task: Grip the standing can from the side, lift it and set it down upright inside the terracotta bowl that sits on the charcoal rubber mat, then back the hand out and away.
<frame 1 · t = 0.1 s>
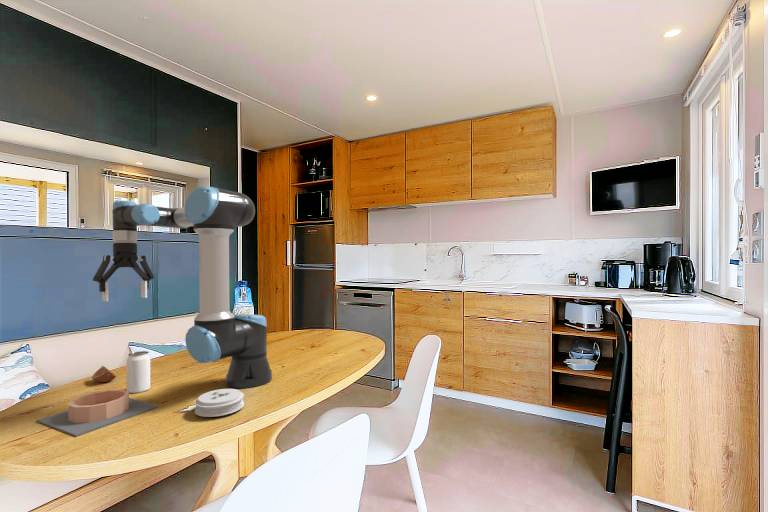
hand: (125, 299, 140), 28 cm above the table, tool pointing down, fingers open, 13 cm apart
can: (138, 390, 121), on the table
lid: (220, 411, 104), on the table
mat: (100, 413, 103), on the table
fruit slice: (104, 382, 130), on the table
bowl: (100, 405, 103), on the mat
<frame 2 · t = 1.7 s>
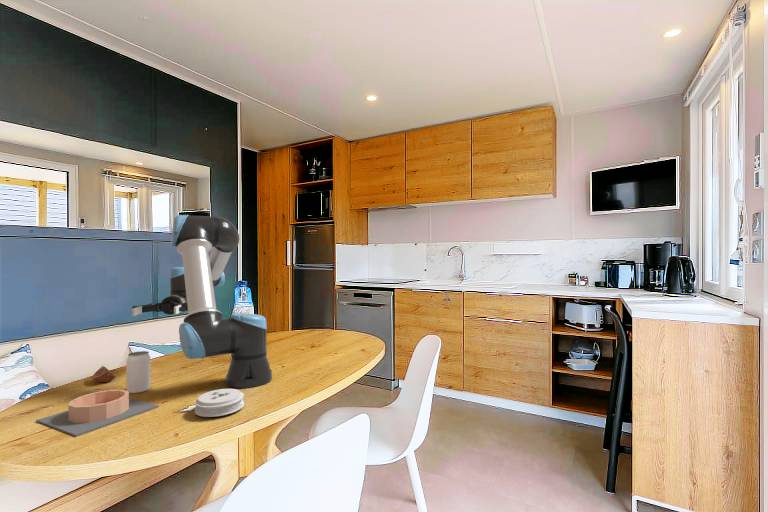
hand: (154, 311, 136), 24 cm above the table, tool horizontal, fingers open, 13 cm apart
nothing on the table moved.
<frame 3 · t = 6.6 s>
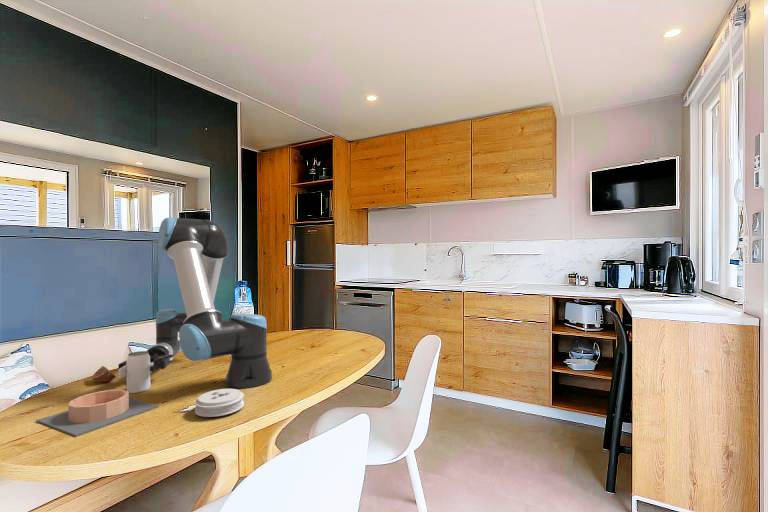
hand: (132, 373, 116), 7 cm above the table, tool horizontal, fingers closed on can, 6 cm apart
can: (138, 390, 121), on the table, touching gripper
everything else where it was.
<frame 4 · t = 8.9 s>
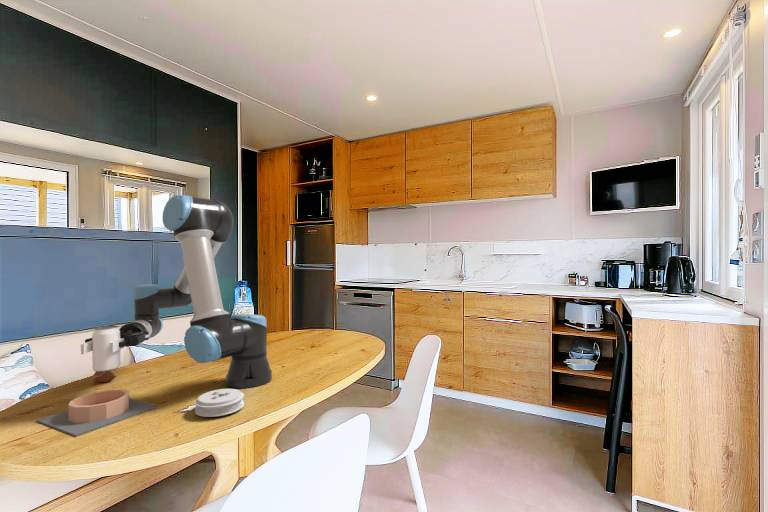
hand: (97, 348, 103), 18 cm above the table, tool horizontal, fingers closed on can, 6 cm apart
can: (106, 369, 108), point 11 cm above the table, touching gripper
everything else where it was.
when the fingers open (10 cm above the table, at t = 11.5 s): can drops 2 cm, resting on bowl.
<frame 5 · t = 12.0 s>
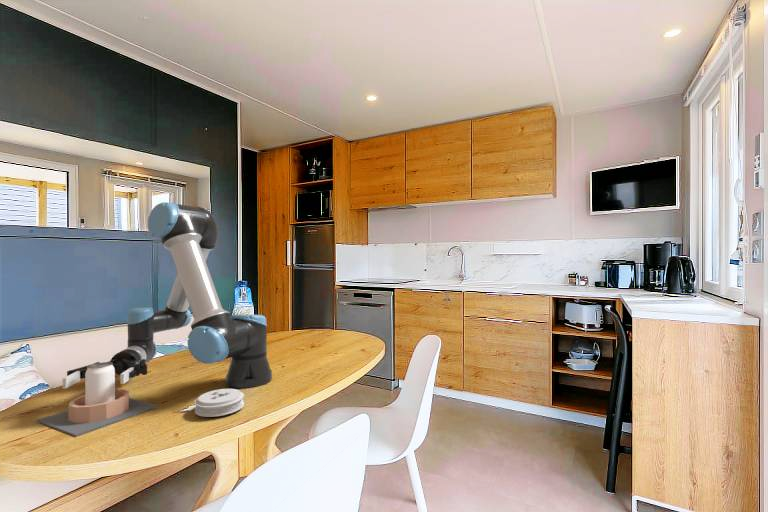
hand: (93, 381, 99), 10 cm above the table, tool horizontal, fingers open, 13 cm apart
can: (100, 409, 103), point 1 cm above the table, touching bowl
everything else where it was.
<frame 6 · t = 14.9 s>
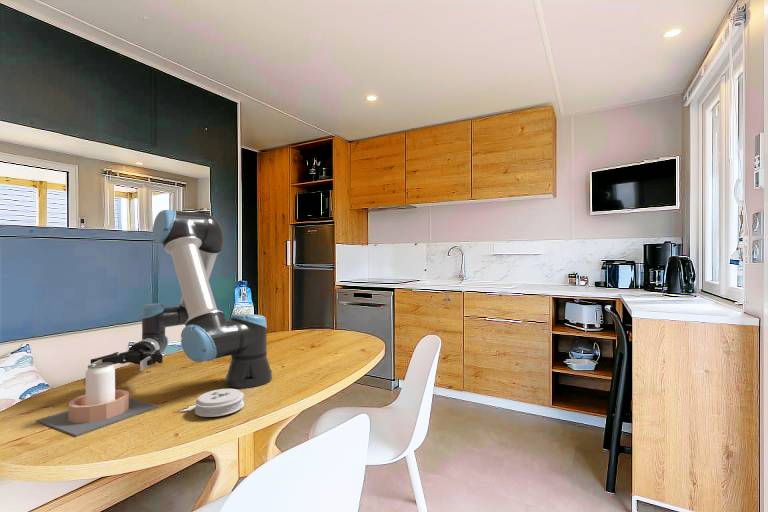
hand: (115, 367, 112), 10 cm above the table, tool horizontal, fingers open, 13 cm apart
nothing on the table moved.
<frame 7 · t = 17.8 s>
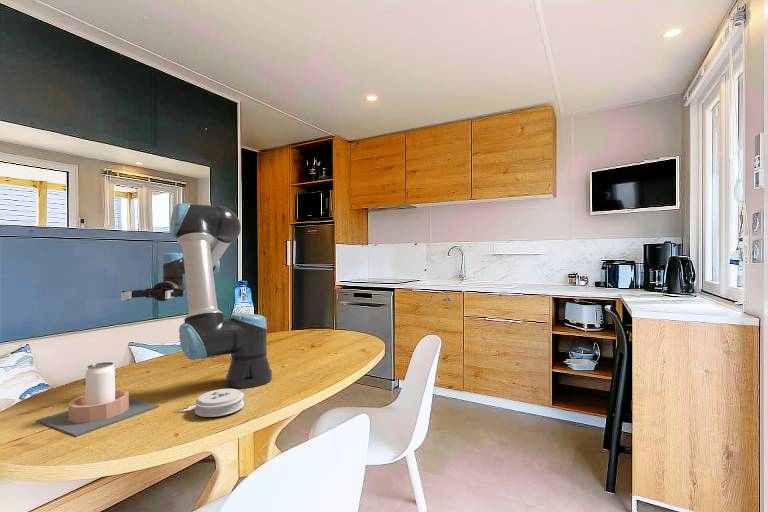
hand: (144, 295, 129), 30 cm above the table, tool horizontal, fingers open, 13 cm apart
nothing on the table moved.
at the end: can 0.1 cm off-centre on the bowl, point 1.2 cm above the bowl's base; can tilted 0°; the gripper is holding nothing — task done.
